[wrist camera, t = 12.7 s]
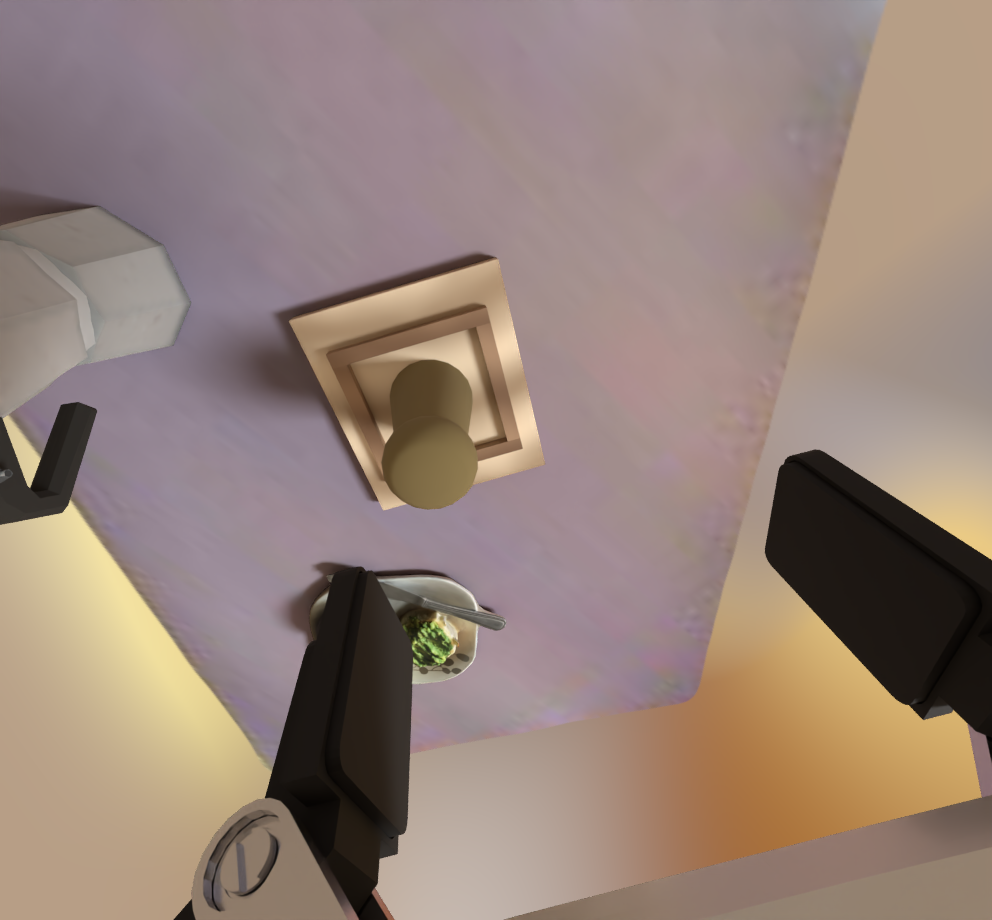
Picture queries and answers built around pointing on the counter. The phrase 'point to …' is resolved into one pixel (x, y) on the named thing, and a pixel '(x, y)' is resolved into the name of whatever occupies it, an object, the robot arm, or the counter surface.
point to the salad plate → (430, 622)
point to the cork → (430, 436)
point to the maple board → (426, 336)
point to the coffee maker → (73, 330)
